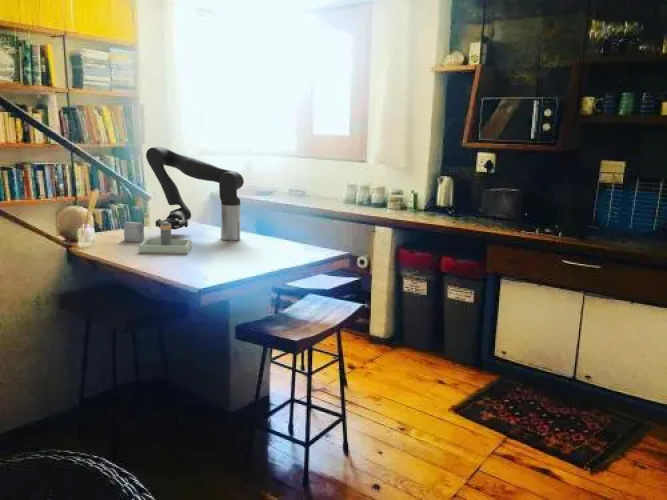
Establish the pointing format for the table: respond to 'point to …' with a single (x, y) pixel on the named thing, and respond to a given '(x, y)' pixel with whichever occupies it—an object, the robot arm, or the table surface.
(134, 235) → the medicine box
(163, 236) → the battery cell
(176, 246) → the trough
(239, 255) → the table surface
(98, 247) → the table surface
